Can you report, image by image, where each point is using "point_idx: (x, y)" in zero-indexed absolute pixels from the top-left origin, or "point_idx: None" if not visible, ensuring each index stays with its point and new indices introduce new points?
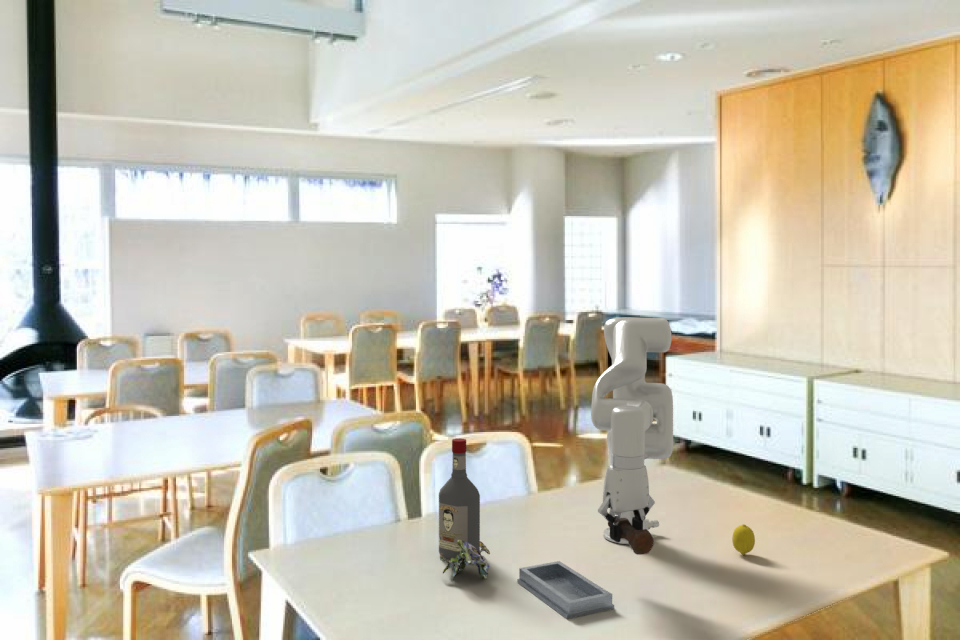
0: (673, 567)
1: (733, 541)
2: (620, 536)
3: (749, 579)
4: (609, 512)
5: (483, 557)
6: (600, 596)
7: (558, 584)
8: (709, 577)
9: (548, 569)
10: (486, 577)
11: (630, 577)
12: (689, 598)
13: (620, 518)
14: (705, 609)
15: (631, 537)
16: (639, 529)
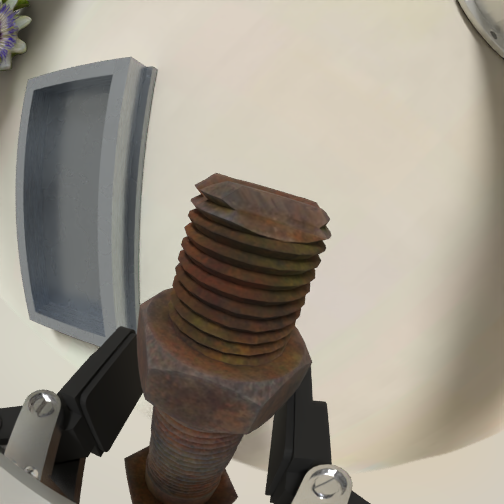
0: (479, 230)
1: None
2: (133, 407)
3: (498, 366)
4: (9, 442)
5: (4, 26)
6: (90, 341)
7: (86, 155)
8: (474, 327)
9: (93, 81)
10: (25, 49)
11: (332, 207)
12: (339, 389)
13: (197, 390)
14: None
15: (128, 482)
16: (270, 453)
